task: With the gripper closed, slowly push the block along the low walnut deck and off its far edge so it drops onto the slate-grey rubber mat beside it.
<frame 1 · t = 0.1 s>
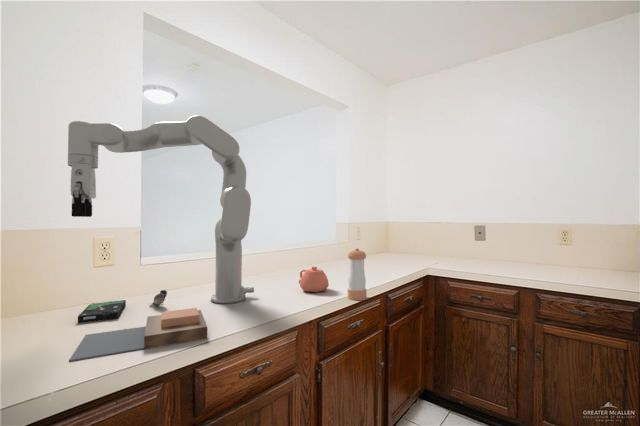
hand: (82, 216, 95), 31 cm above the table, tool pointing down, fingers open, 9 cm apart
deck: (175, 332, 82), on the table
pepper shaker: (356, 298, 118), on the table
block: (180, 320, 82), point 3 cm above the table, touching deck
bird figurine: (160, 307, 106), on the table
disk drive: (103, 316, 98), on the table
mat: (113, 342, 75), on the table
sugar bowl: (312, 290, 131), on the table
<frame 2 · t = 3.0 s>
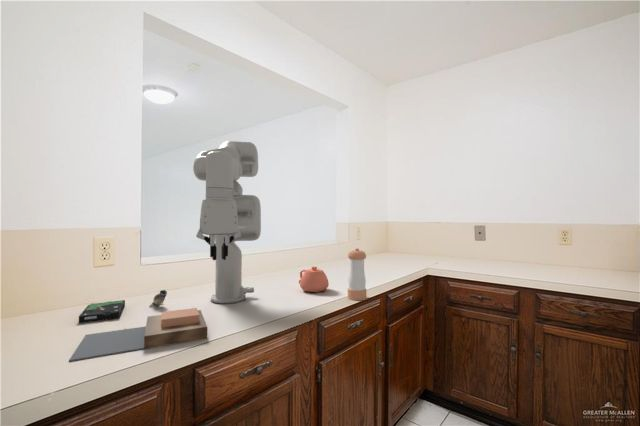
hand: (219, 258, 87), 19 cm above the table, tool pointing down, fingers closed
nothing on the table moved.
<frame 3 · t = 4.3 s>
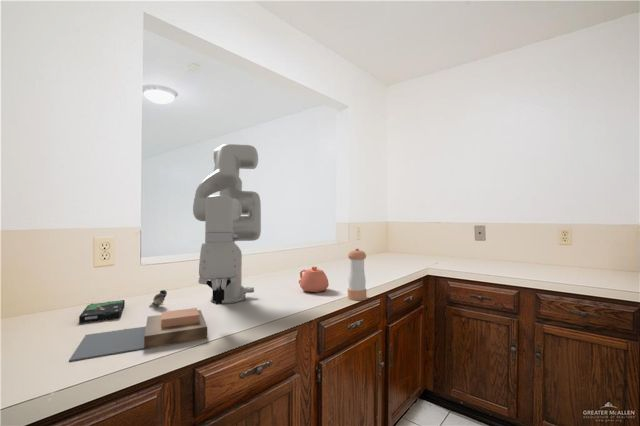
hand: (218, 303, 86), 7 cm above the table, tool pointing down, fingers closed
nothing on the table moved.
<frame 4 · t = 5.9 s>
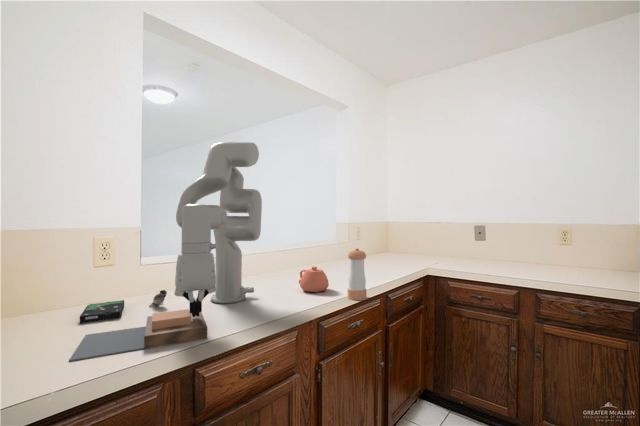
hand: (195, 315, 84), 4 cm above the table, tool pointing down, fingers closed
block: (171, 322, 81), point 3 cm above the table, touching gripper
everything else where it was.
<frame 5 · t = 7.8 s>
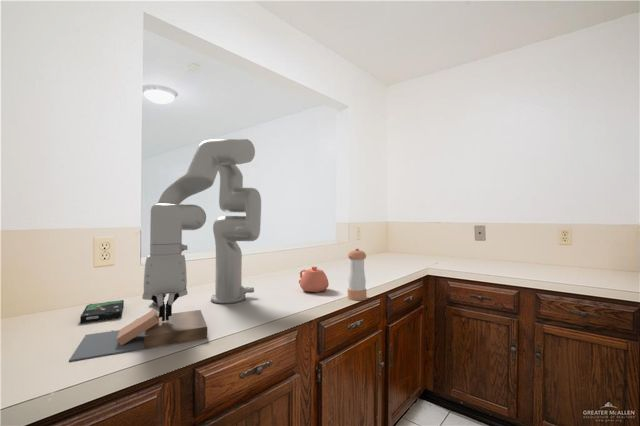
hand: (165, 319, 81), 4 cm above the table, tool pointing down, fingers closed
block: (141, 329, 78), point 2 cm above the table, tilted 29°
everything else where it was.
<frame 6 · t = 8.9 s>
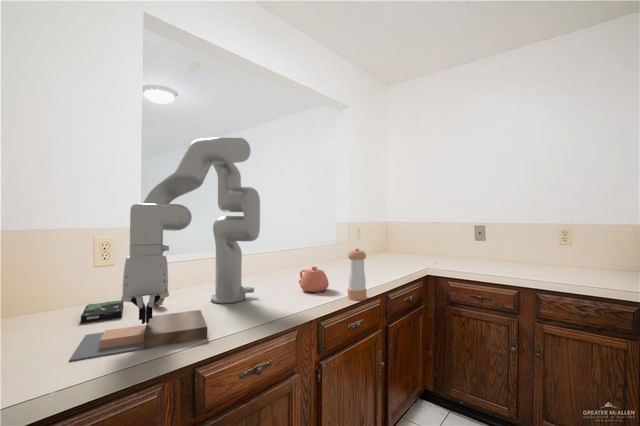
hand: (145, 321, 79), 4 cm above the table, tool pointing down, fingers closed
block: (124, 340, 76), resting on mat
everything else where it was.
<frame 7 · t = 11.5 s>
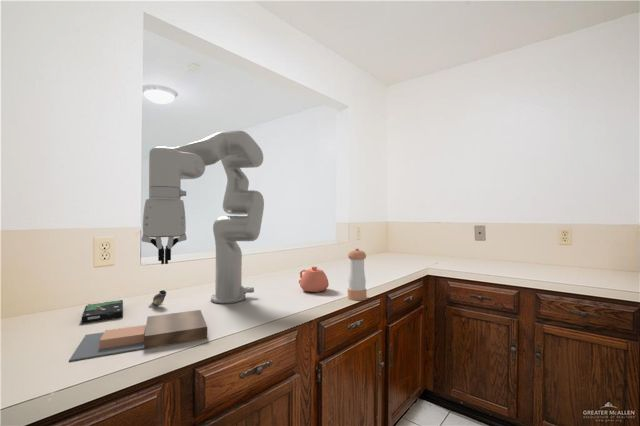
hand: (164, 263, 81), 19 cm above the table, tool pointing down, fingers closed
nothing on the table moved.
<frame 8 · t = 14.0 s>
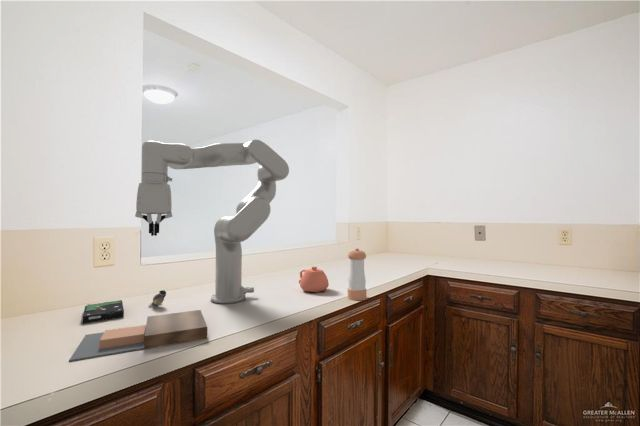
hand: (154, 235, 100), 25 cm above the table, tool pointing down, fingers closed
nothing on the table moved.
at the end: block inside the target area (3.4 cm from its centre), resting on mat; block touching mat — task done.
